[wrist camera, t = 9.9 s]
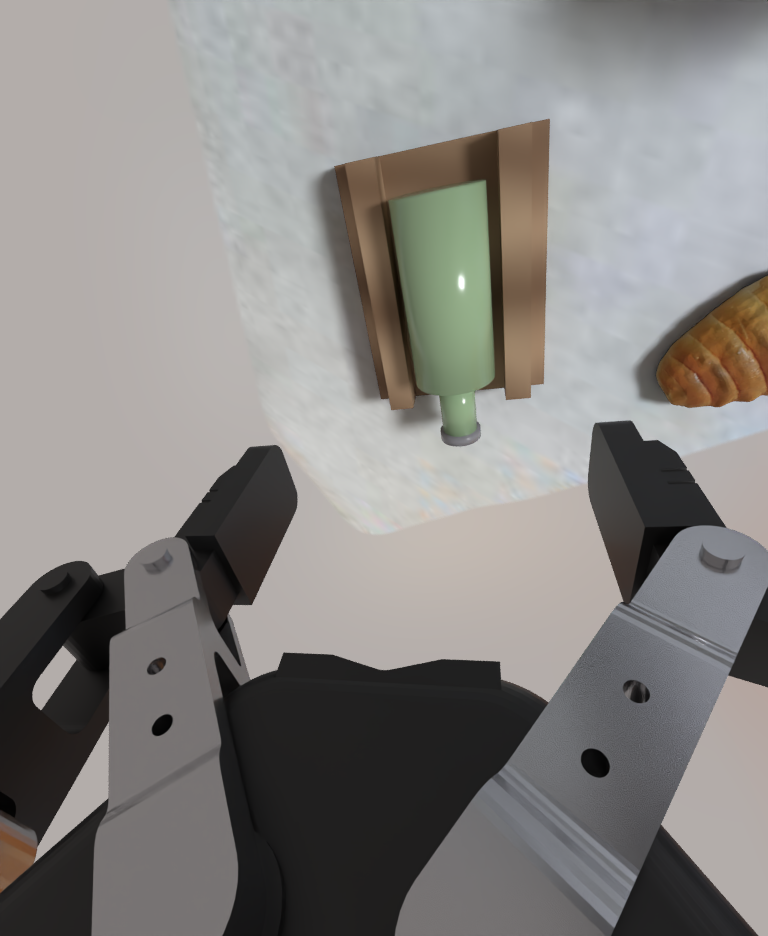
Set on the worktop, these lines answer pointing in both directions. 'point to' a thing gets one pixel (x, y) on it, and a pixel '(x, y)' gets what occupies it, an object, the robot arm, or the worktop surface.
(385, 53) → the worktop surface
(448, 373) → the bottle
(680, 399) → the pastry
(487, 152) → the cradle
